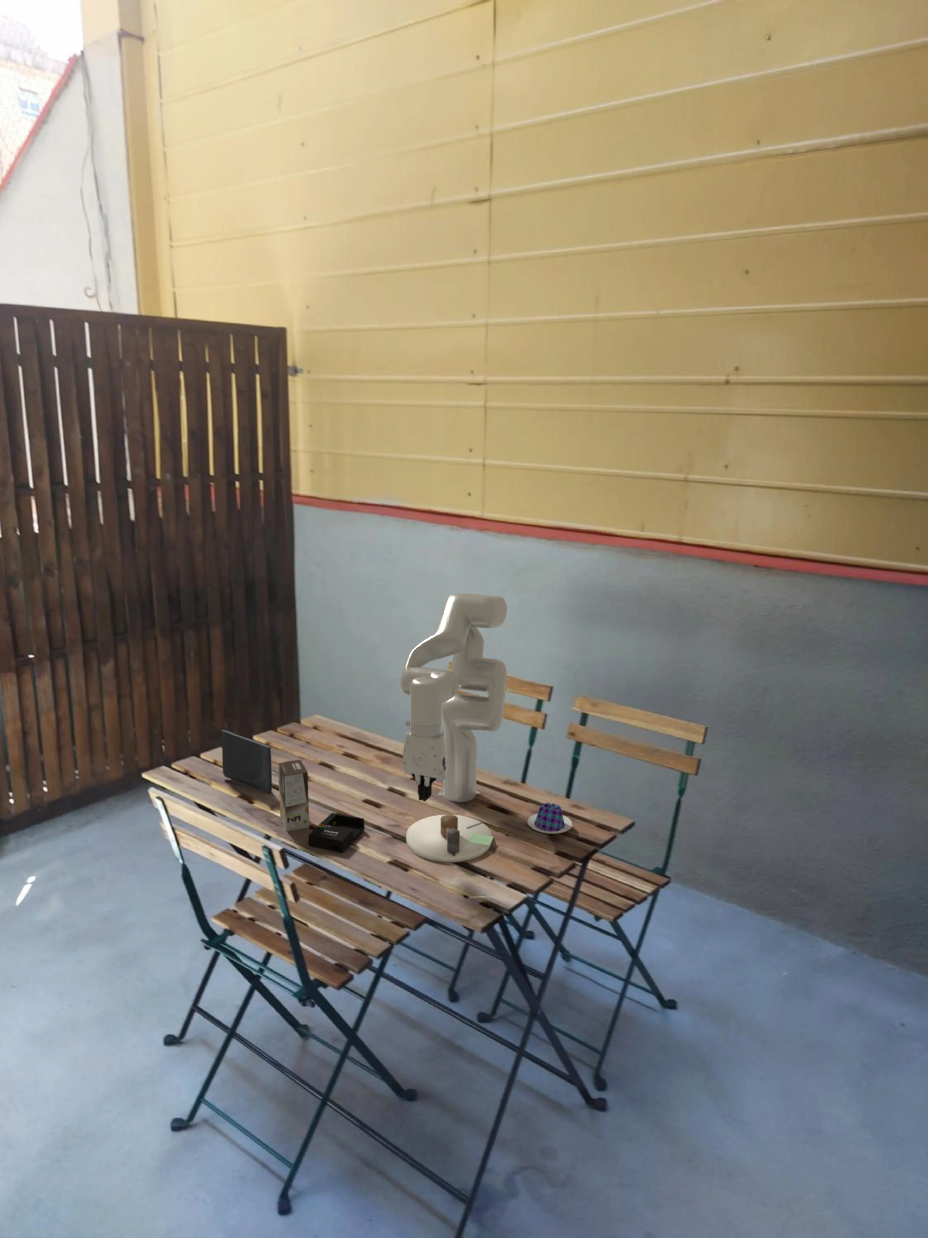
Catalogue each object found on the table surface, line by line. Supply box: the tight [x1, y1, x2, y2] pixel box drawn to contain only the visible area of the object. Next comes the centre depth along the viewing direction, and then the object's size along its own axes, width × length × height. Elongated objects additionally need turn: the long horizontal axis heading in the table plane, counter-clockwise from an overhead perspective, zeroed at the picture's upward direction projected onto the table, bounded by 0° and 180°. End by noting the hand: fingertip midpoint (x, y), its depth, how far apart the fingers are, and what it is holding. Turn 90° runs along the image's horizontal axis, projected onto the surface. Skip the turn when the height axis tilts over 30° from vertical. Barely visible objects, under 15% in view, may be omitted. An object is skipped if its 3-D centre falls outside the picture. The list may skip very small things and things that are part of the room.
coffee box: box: [277, 759, 310, 832], centre depth 219 cm, size 9×6×16 cm
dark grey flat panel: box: [221, 729, 273, 794], centre depth 241 cm, size 20×2×15 cm, turn 57°
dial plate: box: [405, 814, 495, 863], centre depth 214 cm, size 22×22×2 cm
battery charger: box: [307, 812, 365, 854], centre depth 213 cm, size 13×10×4 cm
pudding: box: [527, 802, 573, 834], centre depth 223 cm, size 12×12×5 cm
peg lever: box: [441, 814, 460, 853], centre depth 209 cm, size 13×4×5 cm, turn 8°
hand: (424, 798), depth 204 cm, fingers closed
